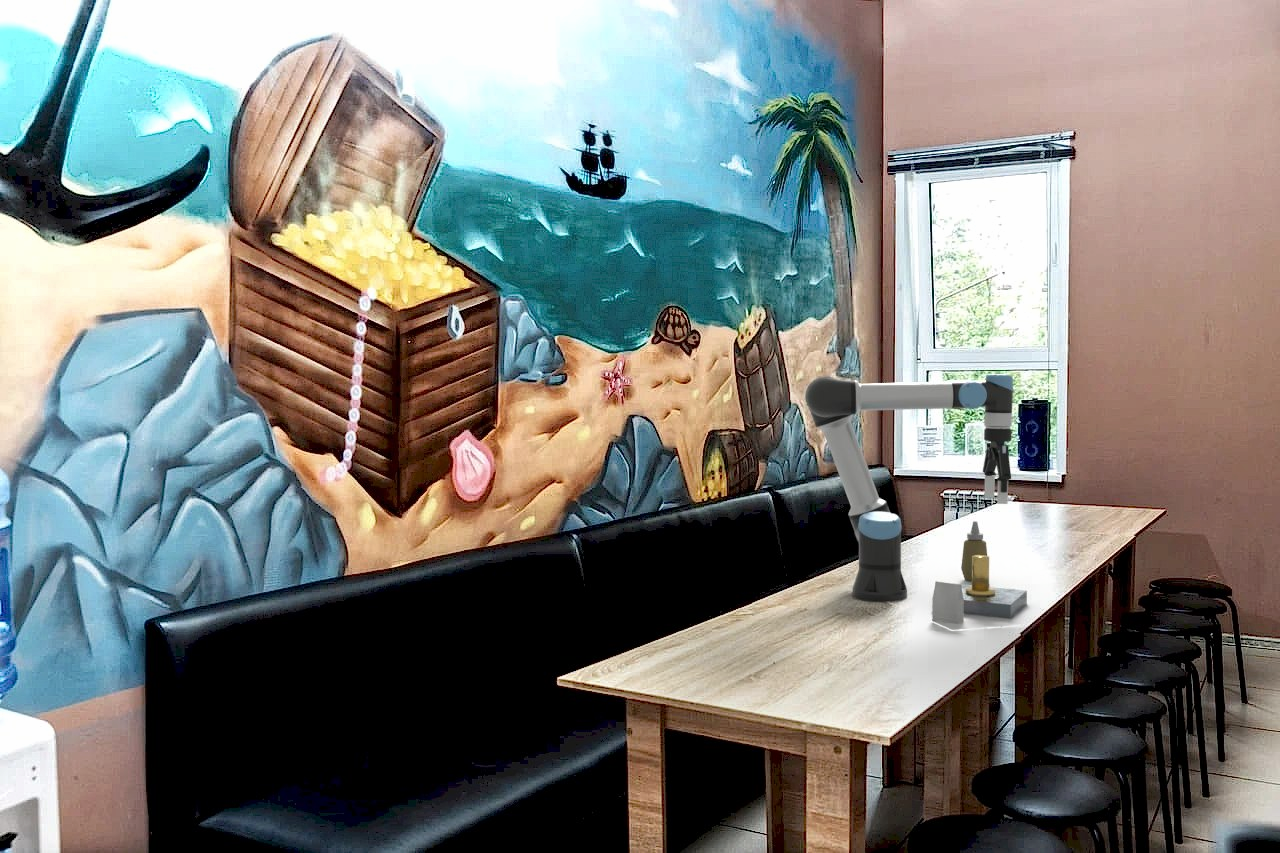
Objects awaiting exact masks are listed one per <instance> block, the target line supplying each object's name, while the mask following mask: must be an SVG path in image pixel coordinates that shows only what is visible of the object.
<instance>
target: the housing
mask: <svg viewBox="0 0 1280 853" xmlns="http://www.w3.org/2000/svg"><path fill="white" fill-rule="evenodd" d="M960 584H961V583H960ZM961 587H962V593H963V598H964V615H971V616H983V617H988V618H990V617H993V618H1001V619H1007V620H1008V619H1009V620H1011V619H1012V618H1013V617H1014V616H1015V615H1017V614H1018V613H1019V611H1021V610H1022V609H1023V608H1025V606H1026V605H1027V603H1028V601H1027V600H1028V591H1027V590H1024V589H1016V588H1005V587H994V586H989V588H991V589H994V590H995V595H994V596H989V597H980V596H971V595H968V594H966V588H970V587H972V584H961Z"/></svg>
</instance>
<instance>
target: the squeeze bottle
mask: <svg viewBox="0 0 1280 853" xmlns="http://www.w3.org/2000/svg"><path fill="white" fill-rule="evenodd" d="M978 523H979V522H978V521H976V520H975V521H974V520H973V521H972V525H971V530H970V532H967V533H966V534H967V535H966V537H967V538H966V540H964V542H963V547H962V548H963V549H962V558H961V564H960V565H961V566H960V567H961V568H960V569H961V572H962V575H963V578H964V581H967V582H970V583H972V556H975V555H983V556H988V549H987V542H986V540H984V533H983V532H982V533H981V532H980V529H979V528H980V527H979V524H978Z"/></svg>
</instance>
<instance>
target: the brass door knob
mask: <svg viewBox="0 0 1280 853" xmlns="http://www.w3.org/2000/svg"><path fill="white" fill-rule="evenodd" d="M971 585H972V587H970V588H966V594H968V595H971V596H980V597H989V596H994V595H995V590H994V589H991V588H989V587H990V556H988V555H987V556H983V555H975V556H972V582H971Z"/></svg>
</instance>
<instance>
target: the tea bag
mask: <svg viewBox="0 0 1280 853" xmlns="http://www.w3.org/2000/svg"><path fill="white" fill-rule="evenodd" d="M931 600H932V611H931V612H932V613H931V614H932V617H931V619H932V621H939V622H946V623H953V624H960V623H961V622H964V615H965V614H964V598H963V593H962V587H961V583H960V584H959V583H951V582H944V581H937V580H936V581H935V582H934V589H933V594H932V599H931Z"/></svg>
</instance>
